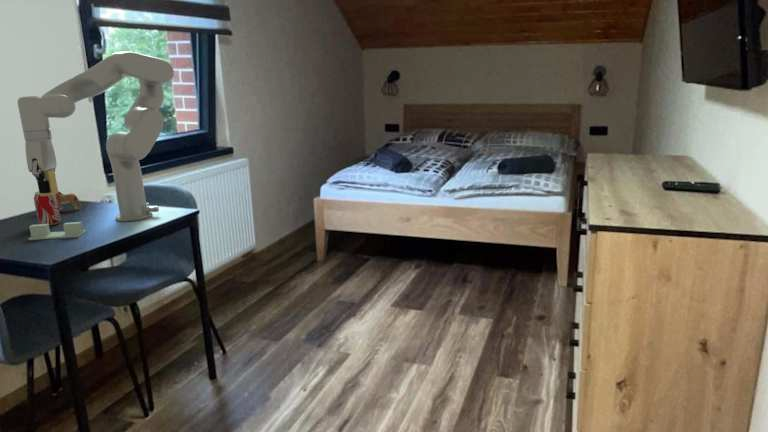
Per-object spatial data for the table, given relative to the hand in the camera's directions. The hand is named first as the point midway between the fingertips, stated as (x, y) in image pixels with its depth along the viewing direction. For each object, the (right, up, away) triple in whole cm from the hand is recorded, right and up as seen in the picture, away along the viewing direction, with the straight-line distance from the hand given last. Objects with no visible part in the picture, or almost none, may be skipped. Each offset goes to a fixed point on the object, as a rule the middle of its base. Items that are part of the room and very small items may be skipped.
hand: (48, 190), depth 185 cm
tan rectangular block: (0, -1, 0) cm, 1 cm away
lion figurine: (-17, -6, +39) cm, 43 cm away
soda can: (-11, -11, +20) cm, 25 cm away
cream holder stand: (+1, -15, +4) cm, 16 cm away
